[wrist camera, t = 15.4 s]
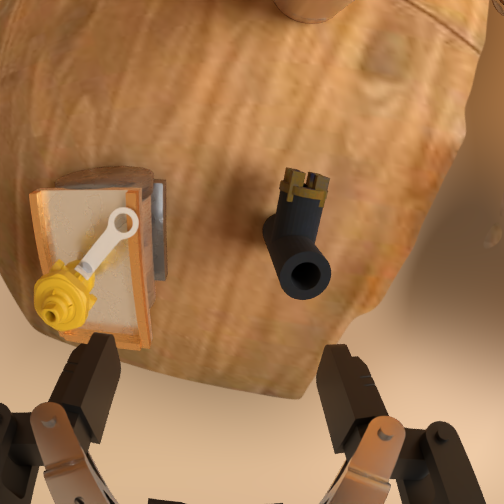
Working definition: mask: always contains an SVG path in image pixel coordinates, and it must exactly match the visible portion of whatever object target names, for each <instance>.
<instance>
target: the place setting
mask: <svg viewBox="0 0 504 504" xmlns="http://www.w3.org/2000/svg"><path fill="white" fill-rule="evenodd" d="M492 1H493V4H494V6H495V8H496V9H497V11H498V12H499V13H500V14H501V15H503V16H504V11H503V9H502V7H501V6H500V5H499V4H498V3H497V2H496V1H495V0H492ZM500 2H501V3H502V4H503V5H504V0H500Z"/></svg>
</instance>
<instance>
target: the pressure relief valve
mask: <svg viewBox="0 0 504 504" xmlns="http://www.w3.org/2000/svg"><path fill="white" fill-rule="evenodd" d="M121 213H125V214H128V215H129V216H130V217H131V218H132V221H133V226H132V228H131V230H130V231H128V232H120V231H118V230H117V229H116V227H115V224H114V221H115V218H116V216H117V215H119V214H121ZM138 226H139V219H138V217H137V214H136V213H135V212H134V211H133V210H132V209H130V208H127V207H120V208H117V209H116V210H114V211H113V212H112V213H111V215H110V217H109V221H108V227H107V229H106V230H105V231H104V233H103V234H102V235H101V236H100V238H99V239H98V240H97V241H96V242H95V244H94V245H93V246H92V247H91V249H90V250H89V251H88V252H87V254H86V255H85V256H84V258H83V259H82V260H74V261H72V262H69V263H68V264H67V265H66V266H65V263H64V262H63V261H62V260H60V259H58V260H57V261H56V263H55V264H54V265H53V266H52V268H51V269H50V271H49V273H48V274H45V275H43V276H42V277H41V278H40V279H39V280H38V281H37V282H36V284H35V286H34V307H35V310H36V312H37V314H38V315H39V316H40V317H41V318H42V319H43V321H44V322H45V323H46V324H48V325H50V326H51V327H53V328H54V329H56V330H59V331H68V330H72V329H75V328H78V327H81V326H82V325H83V324H84V323H85V321H86V319H87V317H88V312H89V310H90V309H91V308H92V307H93V305H94V304H95V302H96V301H97V298H96V297H95V296H94V295H93V294H90V293H89V292H91V290H92V288H93V287H94V283H95V274H94V271H95V270H96V269H97V267H98V266H99V265H100V264H101V263H102V261H103V260H104V259H105V258H106V257H107V255H108V254H109V253H110V252H111V251H112V249H113V248H114V247H115V246H116V245H117V244H118V242H119V241H121V240H122V239H126V238H130V237H131V236H133V235H134V234H135V233H136V231H137V229H138Z"/></svg>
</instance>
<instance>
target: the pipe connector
mask: <svg viewBox="0 0 504 504" xmlns="http://www.w3.org/2000/svg"><path fill="white" fill-rule="evenodd" d="M305 174H306V173H304V172H300V171H299V170H297V169H292V168H287V167H286V170H285V176H284V180H282V181H281V182H280V187H279V190H280V195H279V200H278V205H277V211H276V214H275V215H272V216H271V217H269V218H268V219H267V220H266V222H265V224H264V226H263V237H264V240H265V242H266V245H267V248H268V251H269V254H270V256H271V259H272V262H273V265H274V267H275V270H276V273H277V276H278V279H279V281H280V284H281V287H282V289H283V290H284V292H285V293H286V294H287V295H289V296H290V297H292V298H294V299H299V300H306V299H311V298H314V297H316V296H318V295H319V294H320V293H322V292H323V291H324V290H325V289H326V287H327V286H328V284H329V281H330V278H331V268H330V265H329V263H328V261H327V260H326V258H325V257H324V256H323V255H322V253H321V252H320V251H319V249H318V248H317V247H316V246H315V240H316V236H317V232H318V227H319V223H320V218H321V214H322V210H323V208H324V203H325V200H326V198H327V193H328V191H327V189H328V184H329V180H330V178H328V177H325V176H322V175H321V174H317V173H312V172H308V176H307V181H306V184H305V183H304V179H305Z"/></svg>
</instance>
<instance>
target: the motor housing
mask: <svg viewBox="0 0 504 504" xmlns="http://www.w3.org/2000/svg"><path fill="white" fill-rule="evenodd" d="M29 199H30V207H31V214H32V221H33V227H34V233H35V239H36V245H37V250H38V255H39V260H40V264H41V269H42V273H43V275H45V274H48V273H49V271H50V269H51V268H52V266H53V265H54V264H55V263H56V261H57V260H58V259H60V260H62V261H63V262H64V263H65V266H66V265H67V264H68V263H69V262H72V261H74V260H82V259H83V258H84V256H85V255H86V254H87V252H88V251H89V250H90V249H91V247H92V246H93V245H94V244H95V242H96V241H97V240H98V239H99V238H100V236H101V235H102V234H103V233H104V231H105V230H106V229H107V227H108V221H109V217H110V215H111V213H112V212H113V211H114V210H116V209H117V208H120V207H127V208H130V209H132V210H133V211H134V212H135V213H136V214H137V217H138V219H139V226H138V229H137V231H136V233H135V234H134V235H133V236H131V237H130V238H126V239H122V240H121V241H119V242H118V244H117V245H116V246H115V247H114V248H113V249H112V251H111V252H110V253H109V254H108V255H107V257H106V258H105V259H104V260H103V261H102V263H101V264H100V265H99V266H98V267H97V269H96V270H95V271H94V274H95V283H94V287H93V288H92V290H91V292H89V293H90V294H93V295H94V296H95V297H96V298H97V301H96V302H95V304H94V305H93V307H92V308H91V309H90V310H89V312H88V317H87V319H86V321H85V323H84V324H83V325H82V326H81V327H78V328H75V329H72V330H68V331H59V330H58V331H59V334H60V337H64V338H65V340H67V341H73V342H79V343H85V344H88V342H89V340H90V338H91V336H92V334H93V333H94V332H98V333H106V334H113V336H114V338H115V342H116V347H117V348H122V349H131V350H140V351H141V348H149V349H150V345H151V342H152V338H153V336H152V328H151V320H150V311H149V309H150V307H151V306H152V305H153V304H154V301H155V298H156V292H155V280H160V281H165V280H166V277H167V274H168V271H167V242H166V180H153V172H152V171H151V170H148V169H145V168H140V167H128V166H114V167H101V168H93V169H87V170H82V171H78V172H74V173H71V174H68V175H65V176H63V177H61V178H59V179H58V180H57V181H56V182H55V188H39V189H37V190H35V191H33V192H31V193H30V194H29ZM114 224H115V227H116V229H117V230H118V231H120V232H128V231H130V230H131V228H132V226H133V221H132V218H131V217H130V216H129V215H128V214H125V213H121V214H119V215H117V216H116V218H115V221H114Z"/></svg>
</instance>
